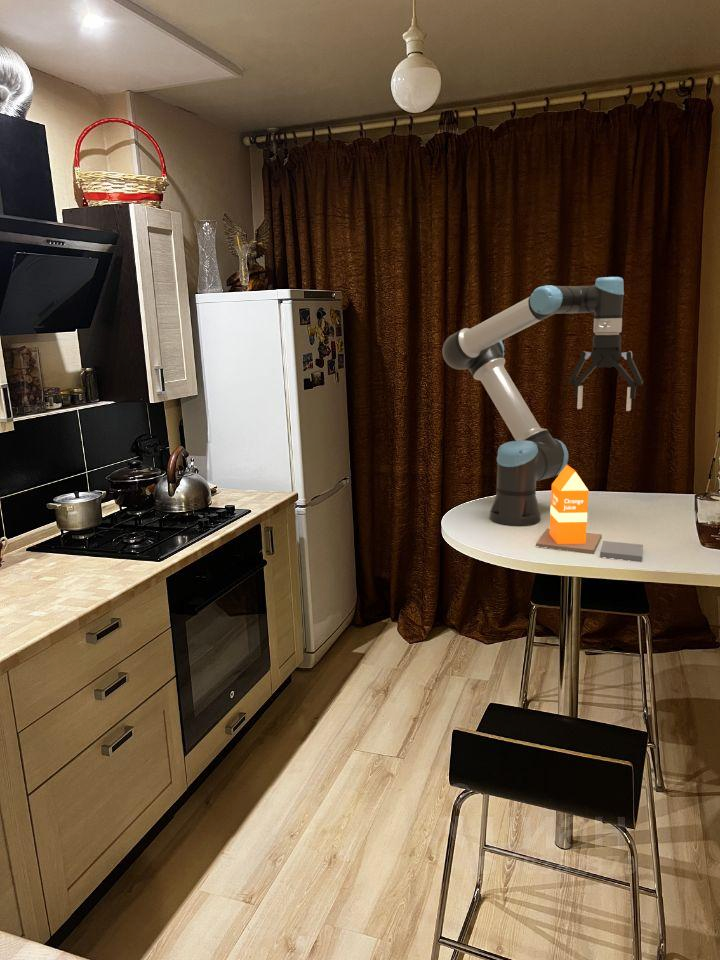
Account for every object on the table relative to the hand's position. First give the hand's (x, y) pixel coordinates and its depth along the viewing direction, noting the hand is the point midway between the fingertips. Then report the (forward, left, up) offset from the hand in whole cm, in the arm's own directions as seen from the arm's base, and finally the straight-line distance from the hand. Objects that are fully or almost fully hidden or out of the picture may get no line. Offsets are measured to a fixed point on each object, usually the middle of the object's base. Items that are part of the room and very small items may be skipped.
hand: (603, 409), depth 209 cm
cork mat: (-4, -22, -34) cm, 41 cm away
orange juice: (-5, -22, -33) cm, 40 cm away
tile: (+10, -26, -34) cm, 44 cm away
